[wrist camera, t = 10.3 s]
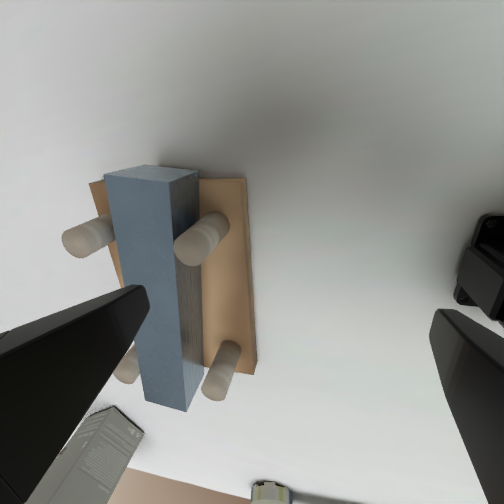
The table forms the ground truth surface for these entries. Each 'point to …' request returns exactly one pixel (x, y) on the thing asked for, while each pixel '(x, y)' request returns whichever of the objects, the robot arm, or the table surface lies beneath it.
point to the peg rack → (212, 273)
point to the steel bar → (161, 276)
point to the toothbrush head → (270, 494)
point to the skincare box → (90, 462)
